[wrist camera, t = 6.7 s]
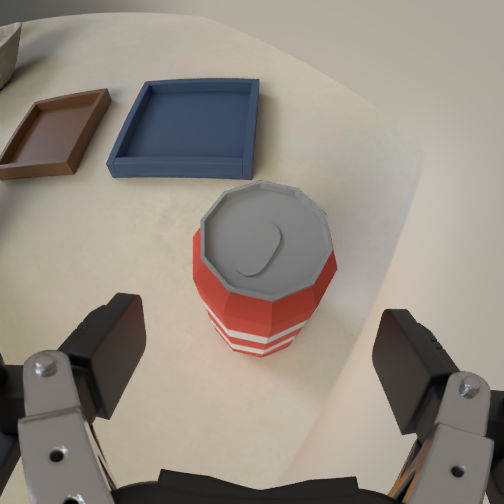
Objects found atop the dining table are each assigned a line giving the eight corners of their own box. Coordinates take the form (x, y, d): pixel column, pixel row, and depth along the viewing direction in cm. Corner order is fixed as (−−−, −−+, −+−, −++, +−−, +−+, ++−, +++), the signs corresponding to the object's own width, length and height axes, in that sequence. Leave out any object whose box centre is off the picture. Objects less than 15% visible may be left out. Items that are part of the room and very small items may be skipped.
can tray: (259, 93, 34) (259, 78, 32) (251, 180, 28) (251, 164, 27) (148, 94, 35) (145, 81, 33) (112, 177, 29) (105, 164, 27)
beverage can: (198, 329, 23) (152, 260, 12) (245, 261, 25) (243, 151, 14) (271, 374, 21) (295, 347, 10) (314, 300, 24) (367, 212, 13)
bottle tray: (111, 100, 34) (107, 88, 33) (74, 174, 29) (66, 162, 27) (40, 112, 35) (34, 101, 33) (0, 180, 29) (-8, 170, 27)
